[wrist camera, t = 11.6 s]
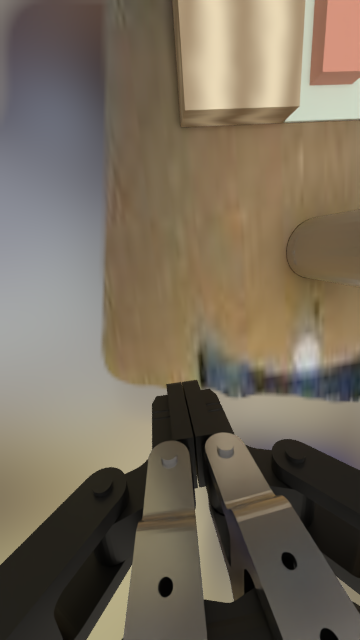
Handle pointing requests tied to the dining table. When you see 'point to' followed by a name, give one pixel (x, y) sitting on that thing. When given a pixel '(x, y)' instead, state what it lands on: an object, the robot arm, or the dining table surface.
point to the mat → (322, 88)
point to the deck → (238, 60)
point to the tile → (335, 42)
